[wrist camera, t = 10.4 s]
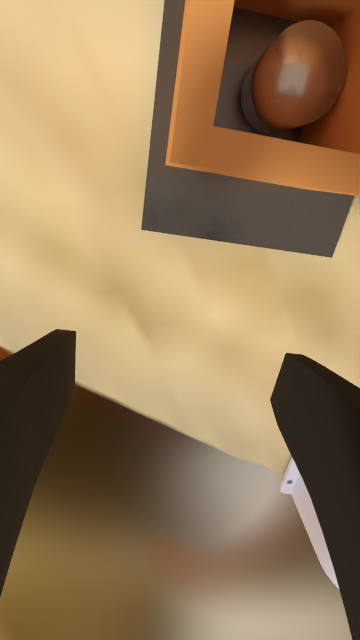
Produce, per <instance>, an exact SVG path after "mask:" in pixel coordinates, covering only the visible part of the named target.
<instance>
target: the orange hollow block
mask: <svg viewBox="0 0 360 640" xmlns="http://www.w3.org/2000/svg"><path fill="white" fill-rule="evenodd" d="M233 6H234V7H238V8H242V9H246V10H250V11H254V12H258V13H263V14H267V15H271V16H275V17H279V18H283V19H287V20H291V21H295V22H301V21H305V20H315V21H319V22H322V23H324V24H326V25H328V26H329V27H331V28H332V29H333V30H334V31H335V32H336V34H337V35H338V37H339V38H340V40H341V42H342V45H343V48H344V51H345V57H346V73H345V79H344V83H343V86H342V89H341V92H340V94H339V96H338V98H337V99H336V101H335V103H334V104H333V105H332V107H331V108H330V109H329V110H328V111H327V112H326V113H325V114H324V115H323V116H322V117H320V118H319V119H317V120H315V121H313V122H311V123H308V124H305V125H304V126H303V129H302V133H301V137H300V140H299V142H294V141H288V140H283V139H278V138H273V137H268V136H262V135H257V134H252V133H247V132H242V131H236V130H231V129H226V128H221V127H216V126H213V124H214V118H215V112H216V106H217V100H218V95H219V89H220V83H221V77H222V71H223V65H224V59H225V53H226V48H227V42H228V36H229V30H230V24H231V18H232V12H233ZM165 165H168V166H174V167H180V168H186V169H192V170H197V171H203V172H209V173H215V174H220V175H226V176H232V177H238V178H243V179H249V180H255V181H261V182H266V183H272V184H278V185H284V186H289V187H295V188H301V189H307V190H314V191H323V192H331V193H339V194H348V195H356V196H360V0H185V7H184V15H183V24H182V32H181V40H180V48H179V56H178V64H177V73H176V81H175V89H174V97H173V105H172V114H171V122H170V130H169V138H168V146H167V154H166V163H165Z"/></svg>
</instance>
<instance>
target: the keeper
mask: <svg viewBox="0 0 360 640" xmlns="http://www.w3.org/2000/svg"><path fill="white" fill-rule="evenodd" d="M184 7H185V0H165V3H164V13H163V22H162V32H161V42H160V52H159V62H158V71H157V81H156V91H155V101H154V111H153V120H152V130H151V140H150V150H149V160H148V169H147V179H146V189H145V199H144V209H143V219H142V228H141V230H147V231H154V232H161V233H168V234H175V235H181V236H188V237H195V238H202V239H209V240H216V241H222V242H229V243H236V244H243V245H250V246H257V247H264V248H270V249H277V250H284V251H291V252H298V253H305V254H311V255H318V256H325V257H332V256H333V253H334V251H335V248H336V245H337V242H338V239H339V237H340V234H341V231H342V228H343V225H344V222H345V220H346V217H347V214H348V211H349V208H350V206H351V203H352V200H353V197H354V195H348V194H339V193H331V192H323V191H314V190H307V189H301V188H295V187H289V186H284V185H278V184H272V183H266V182H261V181H255V180H249V179H243V178H238V177H232V176H226V175H220V174H215V173H209V172H203V171H197V170H192V169H186V168H180V167H174V166H168V165H165V163H166V154H167V146H168V138H169V130H170V122H171V114H172V105H173V97H174V89H175V81H176V73H177V64H178V56H179V48H180V40H181V32H182V24H183V15H184ZM345 73H346V57H345V51H344V48H343V45H342V42H341V40H340V38H339V37H338V35H337V34H336V32H335V31H334V30H333V29H332V28H331V27H329V26H328V25H326V24H324V23H322V22H319V21H315V20H305V21H301V22H295V21H291V20H287V19H283V18H279V17H275V16H271V15H267V14H263V13H258V12H254V11H250V10H246V9H242V8H238V7H234V6H233V12H232V18H231V24H230V30H229V36H228V42H227V48H226V53H225V59H224V65H223V71H222V77H221V83H220V89H219V95H218V100H217V106H216V112H215V118H214V124H213V126H216V127H221V128H226V129H231V130H236V131H242V132H247V133H252V134H257V135H262V136H268V137H273V138H278V139H283V140H288V141H294V142H299V140H300V137H301V133H302V129H303V126H304V125H305V124H308V123H311V122H313V121H315V120H317V119H319V118H320V117H322V116H323V115H324V114H325V113H326V112H327V111H328V110H329V109H330V108H331V107H332V105H333V104H334V103H335V101H336V99H337V98H338V96H339V94H340V92H341V89H342V86H343V83H344V79H345Z"/></svg>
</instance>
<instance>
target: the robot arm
mask: <svg viewBox="0 0 360 640" xmlns="http://www.w3.org/2000/svg"><path fill="white" fill-rule="evenodd" d="M75 351H76V331H69V330H59V329H56V330H54V331H52V332H50V333H49V334H47V335H45V336H43V337H42V338H40V339H38V340H37V341H35V342H33V343H32V344H30V345H28V346H27V347H25V348H23V349H21V350H20V351H18V352H16V353H14V354H13V355H11V356H9V357H7V358H5V359H3V360H1V361H0V596H1V592H2V589H3V586H4V582H5V579H6V575H7V572H8V569H9V565H10V562H11V559H12V555H13V552H14V549H15V545H16V542H17V539H18V536H19V533H20V530H21V526H22V523H23V519H24V517H25V514H26V511H27V507H28V505H29V501H30V498H31V495H32V492H33V489H34V486H35V483H36V481H37V478H38V476H39V473H40V471H41V468H42V466H43V464H44V462H45V459H46V457H47V455H48V453H49V450H50V448H51V446H52V444H53V441H54V439H55V437H56V434H57V432H58V430H59V427H60V425H61V423H62V421H63V418H64V416H65V414H66V411H67V409H68V405H69V402H70V399H71V395H72V391H73V388H74V384H75ZM270 401H271V404H272V408H273V412H274V415H275V418H276V421H277V425H278V427H279V429H280V432H281V434H282V436H283V438H284V440H285V443H286V445H287V447H288V449H289V451H290V453H291V456H292V457H291V459H290V462H289V464H288V467H287V469H286V472H285V474H284V476H283V479H282V482H281V484H280V486H279V488H280V491H281V492H282V493H284V494H292V497H293V499H294V502H295V504H296V506H297V509H298V511H299V513H300V516H301V518H302V521H303V523H304V525H305V528H306V530H307V533H308V535H309V537H310V539H311V542H312V544H313V547H314V549H315V552H316V554H317V556H318V559H319V561H320V563H321V565H322V567H323V569H324V571H325V572H326V574H327V575H328V577H329V578H330V579H331V581H332V582H333V583H334V584H335V585H336V586H337V587H338V588H339V590H340V593H341V596H342V600H343V604H344V607H345V611H346V615H347V619H348V623H349V627H350V632H351V636H352V640H360V388H359V387H357V386H355V385H354V384H352V383H350V382H349V381H347V380H345V379H344V378H342V377H341V376H339V375H337V374H336V373H334V372H333V371H331V370H329V369H328V368H326V367H324V366H323V365H321V364H319V363H318V362H316V361H314V360H312V359H310V358H308V357H306V356H304V355H301V354H291V353H286V354H285V357H284V360H283V363H282V366H281V369H280V372H279V375H278V378H277V381H276V384H275V387H274V390H273V393H272V396H271V399H270Z"/></svg>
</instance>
